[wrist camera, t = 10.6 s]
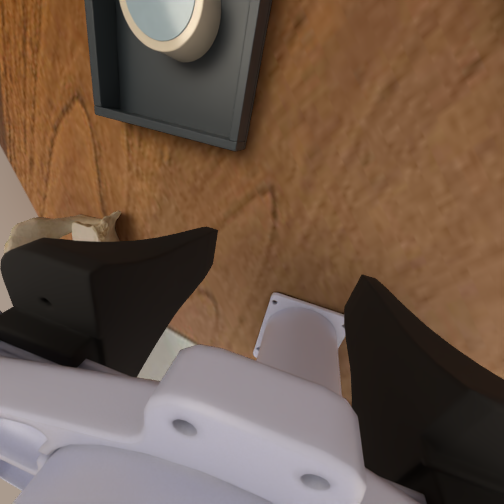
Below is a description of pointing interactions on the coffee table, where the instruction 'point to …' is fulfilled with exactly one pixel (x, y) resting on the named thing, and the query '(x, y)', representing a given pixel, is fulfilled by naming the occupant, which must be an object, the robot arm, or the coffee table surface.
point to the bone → (64, 229)
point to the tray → (179, 75)
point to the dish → (174, 25)
